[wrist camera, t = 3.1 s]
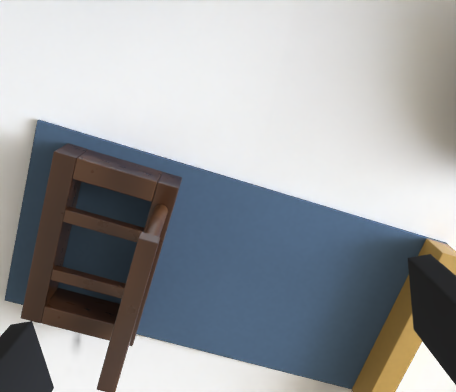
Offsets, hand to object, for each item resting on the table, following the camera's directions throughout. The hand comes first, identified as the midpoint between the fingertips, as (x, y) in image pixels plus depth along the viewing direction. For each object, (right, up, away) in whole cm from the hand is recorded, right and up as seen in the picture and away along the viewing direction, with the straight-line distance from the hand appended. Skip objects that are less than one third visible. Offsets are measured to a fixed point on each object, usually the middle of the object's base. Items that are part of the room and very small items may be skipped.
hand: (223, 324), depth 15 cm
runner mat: (0, -2, +22) cm, 22 cm away
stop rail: (+15, -7, +23) cm, 28 cm away
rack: (-10, +1, +21) cm, 23 cm away
